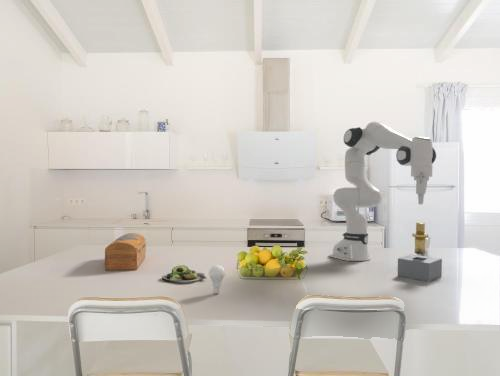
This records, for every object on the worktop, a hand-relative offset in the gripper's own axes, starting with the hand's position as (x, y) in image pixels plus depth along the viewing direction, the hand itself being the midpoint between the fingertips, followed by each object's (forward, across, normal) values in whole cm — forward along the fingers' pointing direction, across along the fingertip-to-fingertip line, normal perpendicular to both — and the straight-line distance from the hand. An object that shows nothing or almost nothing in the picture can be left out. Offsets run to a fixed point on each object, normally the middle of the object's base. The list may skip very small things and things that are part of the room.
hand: (420, 203), depth 179 cm
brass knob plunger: (+23, 0, 0) cm, 23 cm away
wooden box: (+34, -38, +137) cm, 146 cm away
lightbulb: (+33, -63, +70) cm, 100 cm away
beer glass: (+33, +19, -1) cm, 38 cm away
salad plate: (+33, -49, +94) cm, 111 cm away
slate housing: (+33, 0, 0) cm, 33 cm away
